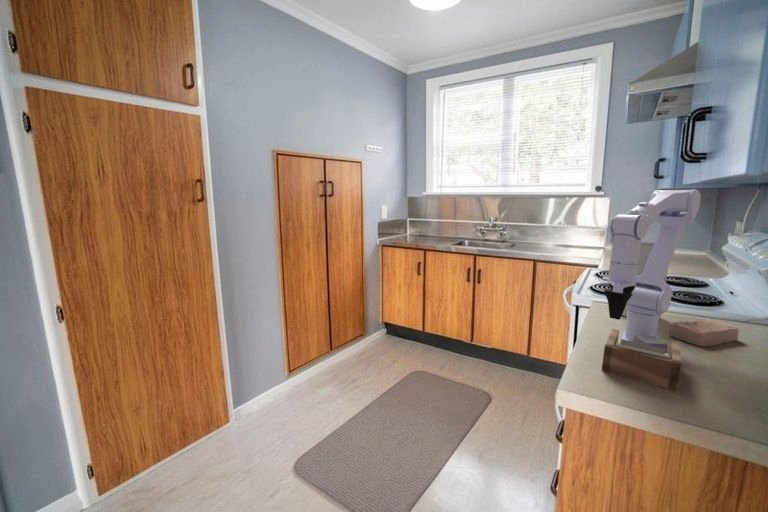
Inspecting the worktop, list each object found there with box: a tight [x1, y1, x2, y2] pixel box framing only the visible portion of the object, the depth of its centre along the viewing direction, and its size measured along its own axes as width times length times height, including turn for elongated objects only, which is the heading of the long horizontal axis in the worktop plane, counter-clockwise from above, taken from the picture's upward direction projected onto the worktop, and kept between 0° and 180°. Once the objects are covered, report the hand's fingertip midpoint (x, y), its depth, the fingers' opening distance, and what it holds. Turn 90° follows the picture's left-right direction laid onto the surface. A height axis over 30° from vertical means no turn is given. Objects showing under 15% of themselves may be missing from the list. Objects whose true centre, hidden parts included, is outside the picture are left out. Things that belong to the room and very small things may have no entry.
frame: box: [601, 328, 682, 392], centre depth 81 cm, size 14×14×6 cm
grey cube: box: [633, 336, 669, 354], centre depth 88 cm, size 4×5×5 cm
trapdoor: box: [615, 338, 670, 359], centre depth 81 cm, size 12×10×2 cm
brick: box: [669, 318, 740, 347], centre depth 99 cm, size 17×8×5 cm, turn 107°
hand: (616, 314), depth 88 cm, fingers open, 7 cm apart
